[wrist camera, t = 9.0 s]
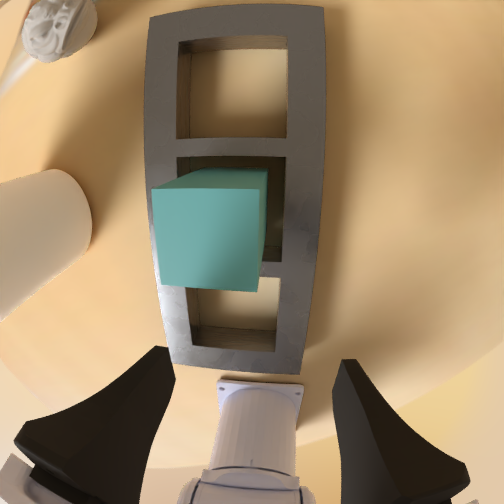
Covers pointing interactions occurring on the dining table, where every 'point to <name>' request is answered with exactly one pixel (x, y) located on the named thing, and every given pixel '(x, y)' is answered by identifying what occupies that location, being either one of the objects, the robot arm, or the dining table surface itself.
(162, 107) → the rail
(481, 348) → the dining table surface
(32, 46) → the grey lumpy piece
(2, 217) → the beverage can
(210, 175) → the square peg
